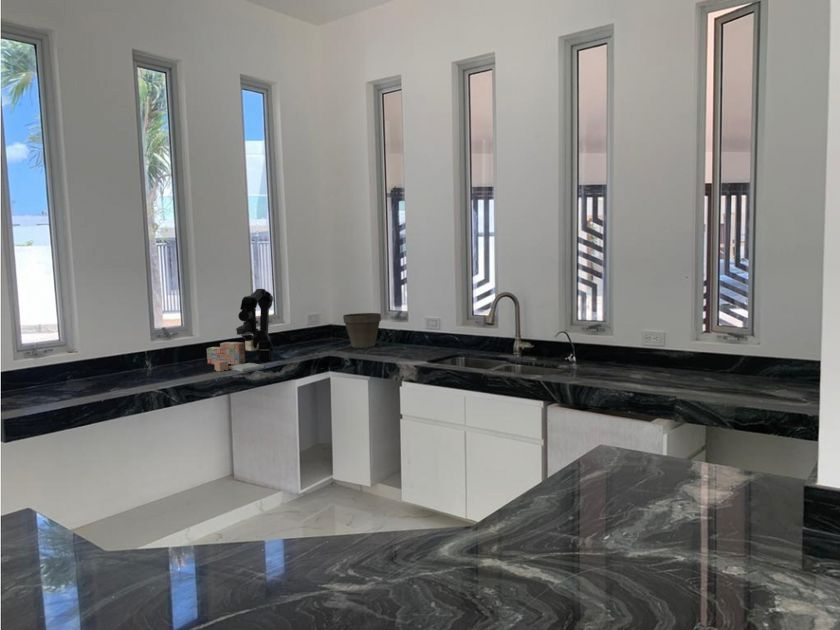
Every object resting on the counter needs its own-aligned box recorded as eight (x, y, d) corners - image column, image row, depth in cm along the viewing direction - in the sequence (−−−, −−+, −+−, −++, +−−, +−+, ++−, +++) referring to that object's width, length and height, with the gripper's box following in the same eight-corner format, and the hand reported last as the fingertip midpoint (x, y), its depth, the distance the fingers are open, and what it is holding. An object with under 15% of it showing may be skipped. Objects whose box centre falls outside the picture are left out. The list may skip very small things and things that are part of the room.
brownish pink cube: (222, 369, 365) (222, 360, 364) (228, 370, 362) (227, 361, 361) (214, 370, 361) (214, 361, 361) (220, 371, 358) (219, 362, 357)
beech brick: (253, 349, 369) (252, 340, 368) (258, 349, 365) (258, 340, 365) (245, 350, 365) (245, 341, 364) (251, 350, 362) (250, 341, 361)
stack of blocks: (207, 364, 385) (205, 343, 384) (213, 362, 391) (212, 341, 390) (239, 365, 379) (238, 343, 378) (245, 363, 385) (244, 342, 384)
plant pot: (344, 345, 450) (343, 313, 448) (381, 343, 453) (379, 311, 451) (344, 350, 425) (343, 316, 423) (383, 348, 428) (381, 315, 426)
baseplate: (249, 365, 375) (249, 362, 375) (264, 367, 366) (264, 365, 366) (227, 369, 365) (227, 366, 364) (242, 371, 355) (242, 368, 355)
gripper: (227, 320, 363) (229, 348, 365) (249, 321, 352) (250, 351, 353) (244, 318, 372) (246, 346, 373) (266, 319, 360) (267, 348, 362)
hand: (252, 348), depth 365 cm, fingers closed on beech brick, 5 cm apart
